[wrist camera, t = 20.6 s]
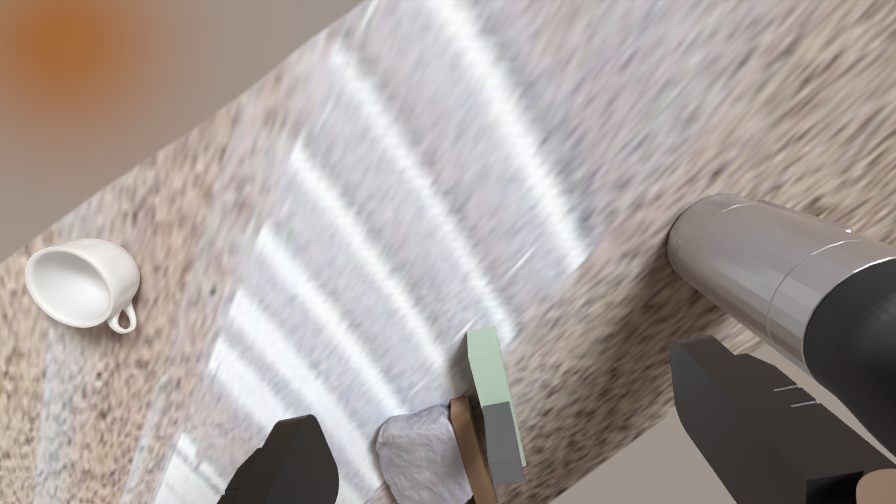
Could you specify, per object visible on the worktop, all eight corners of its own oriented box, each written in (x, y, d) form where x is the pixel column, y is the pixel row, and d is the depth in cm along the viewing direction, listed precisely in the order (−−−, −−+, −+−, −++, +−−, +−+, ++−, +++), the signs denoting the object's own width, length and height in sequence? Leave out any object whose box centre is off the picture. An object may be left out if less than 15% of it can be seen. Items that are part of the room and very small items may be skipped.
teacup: (58, 250, 43) (4, 269, 38) (118, 216, 42) (71, 232, 37) (125, 330, 46) (83, 358, 41) (182, 301, 44) (147, 326, 39)
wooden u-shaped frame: (468, 395, 48) (469, 414, 45) (497, 502, 53) (500, 525, 50) (282, 432, 50) (271, 451, 47) (327, 531, 55) (320, 555, 52)
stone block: (405, 481, 54) (481, 479, 52) (392, 515, 50) (475, 515, 47) (376, 403, 51) (455, 396, 48) (360, 433, 47) (446, 427, 44)
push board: (466, 330, 45) (470, 407, 34) (495, 325, 45) (508, 399, 34) (493, 435, 50) (505, 534, 38) (519, 431, 49) (538, 529, 38)
